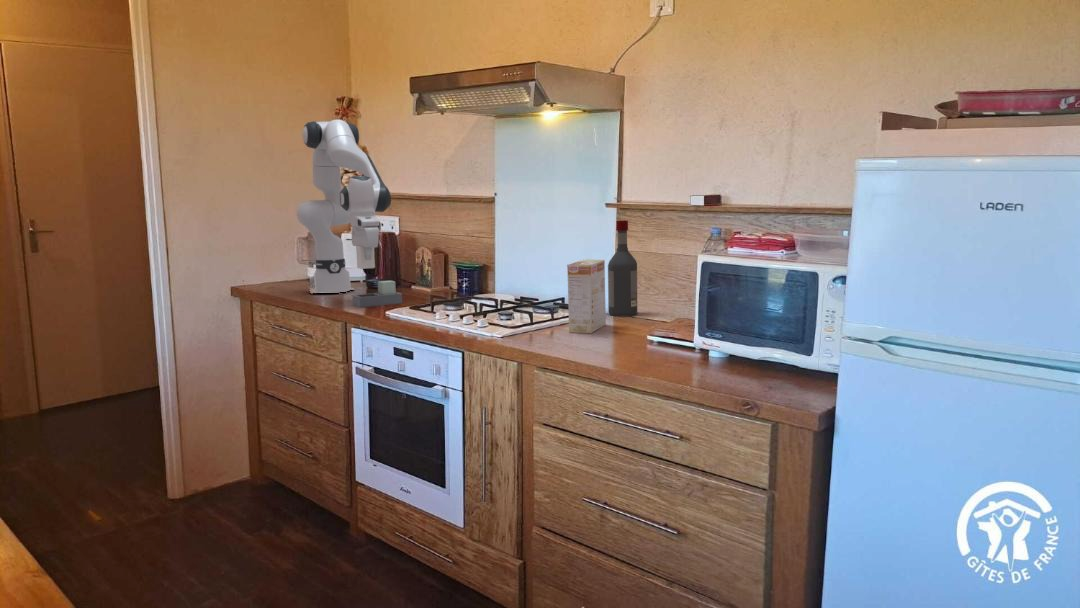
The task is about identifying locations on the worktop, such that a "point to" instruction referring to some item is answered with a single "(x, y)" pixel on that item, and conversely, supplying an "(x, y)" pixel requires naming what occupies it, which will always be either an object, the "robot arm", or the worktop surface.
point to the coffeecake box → (586, 295)
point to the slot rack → (376, 299)
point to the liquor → (622, 277)
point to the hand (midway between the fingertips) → (365, 259)
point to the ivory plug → (361, 260)
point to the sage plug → (386, 287)
